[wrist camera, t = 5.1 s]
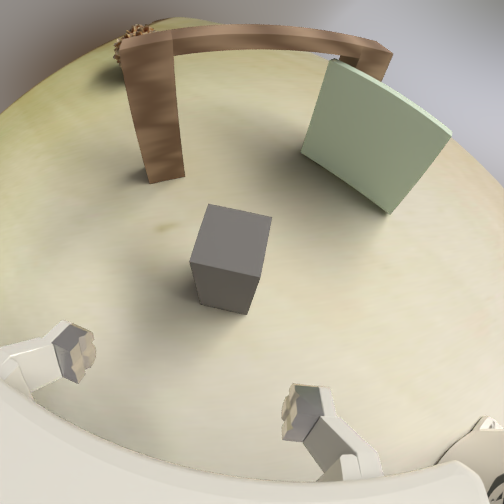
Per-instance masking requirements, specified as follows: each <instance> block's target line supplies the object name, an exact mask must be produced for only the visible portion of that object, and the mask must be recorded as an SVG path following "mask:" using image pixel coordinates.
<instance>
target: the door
mask: <svg viewBox="0 0 504 504" xmlns="http://www.w3.org/2000/svg"><path fill="white" fill-rule="evenodd" d="M451 137H452V131H451V130H450V129H448V128H447V127H446V126H445V125H443V124H442V123H441V122H440V121H438V120H437V119H435V118H434V117H433V116H432V115H430V114H429V113H428V112H426V111H425V110H423V109H422V108H421V107H419V106H418V105H416V104H415V103H413V102H412V101H410V100H409V99H407V98H406V97H404V96H403V95H401V94H400V93H398V92H396V91H395V90H393V89H391V88H390V87H388V86H387V85H385V84H383V83H382V82H380V81H378V80H376V79H375V78H373V77H371V76H369V75H367V74H365V73H364V72H362V71H360V70H358V69H356V68H354V67H352V66H350V65H348V64H346V63H344V62H342V61H340V60H337V59H335V58H334V59H331V60H329V64H328V67H327V70H326V73H325V77H324V80H323V83H322V86H321V90H320V93H319V96H318V99H317V102H316V106H315V109H314V112H313V115H312V118H311V121H310V125H309V128H308V131H307V134H306V137H305V140H304V143H303V146H302V150H301V153H302V154H304V155H305V156H307V157H308V158H310V159H312V160H313V161H315V162H316V163H318V164H319V165H321V166H322V167H324V168H325V169H327V170H328V171H330V172H331V173H333V174H334V175H336V176H337V177H339V178H340V179H342V180H343V181H345V182H346V183H348V184H349V185H350V186H352V187H353V188H355V189H356V190H358V191H359V192H360V193H362V194H363V195H364V196H366V197H367V198H368V199H370V200H371V201H373V202H374V203H375V204H377V205H378V206H379V207H380V208H382V209H383V210H384V211H386V212H387V213H388V214H391V213H392V212H393V211H394V209H395V208H396V207H397V206H398V205H399V204H400V202H401V201H402V200H403V199H404V198H405V196H406V195H407V194H408V193H409V191H410V190H411V189H412V188H413V187H414V185H415V184H416V183H417V182H418V180H419V179H420V178H421V176H422V175H423V174H424V173H425V171H426V170H427V169H428V168H429V166H430V165H431V164H432V162H433V161H434V160H435V158H436V157H437V156H438V154H439V153H440V152H441V150H442V149H443V148H444V146H445V145H446V143H447V142H448V141H449V139H450V138H451Z"/></svg>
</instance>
